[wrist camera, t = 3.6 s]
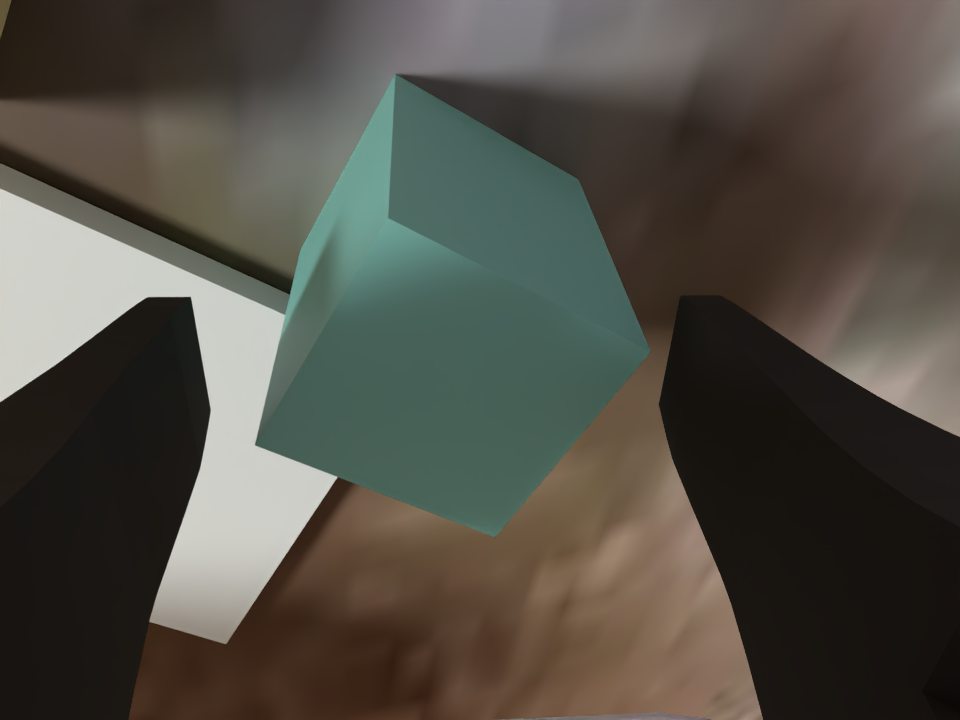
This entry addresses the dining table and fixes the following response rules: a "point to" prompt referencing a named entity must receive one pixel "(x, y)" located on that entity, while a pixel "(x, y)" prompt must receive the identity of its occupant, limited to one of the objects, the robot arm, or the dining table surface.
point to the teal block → (448, 319)
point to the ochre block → (3, 13)
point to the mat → (228, 373)
